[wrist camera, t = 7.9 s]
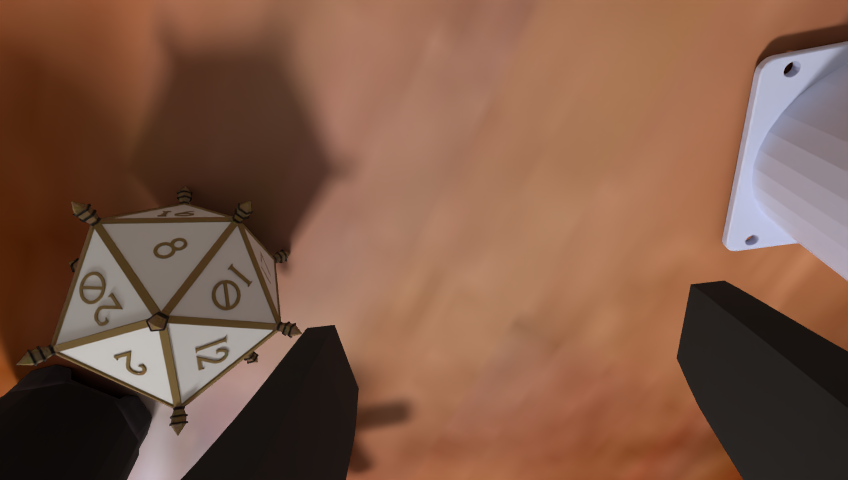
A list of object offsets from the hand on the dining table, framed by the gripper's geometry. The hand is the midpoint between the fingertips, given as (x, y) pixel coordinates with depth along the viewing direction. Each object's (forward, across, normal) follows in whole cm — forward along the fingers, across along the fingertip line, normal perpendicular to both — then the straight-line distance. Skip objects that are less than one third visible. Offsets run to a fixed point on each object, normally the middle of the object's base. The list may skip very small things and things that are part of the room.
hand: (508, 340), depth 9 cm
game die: (+10, +12, +2) cm, 16 cm away
